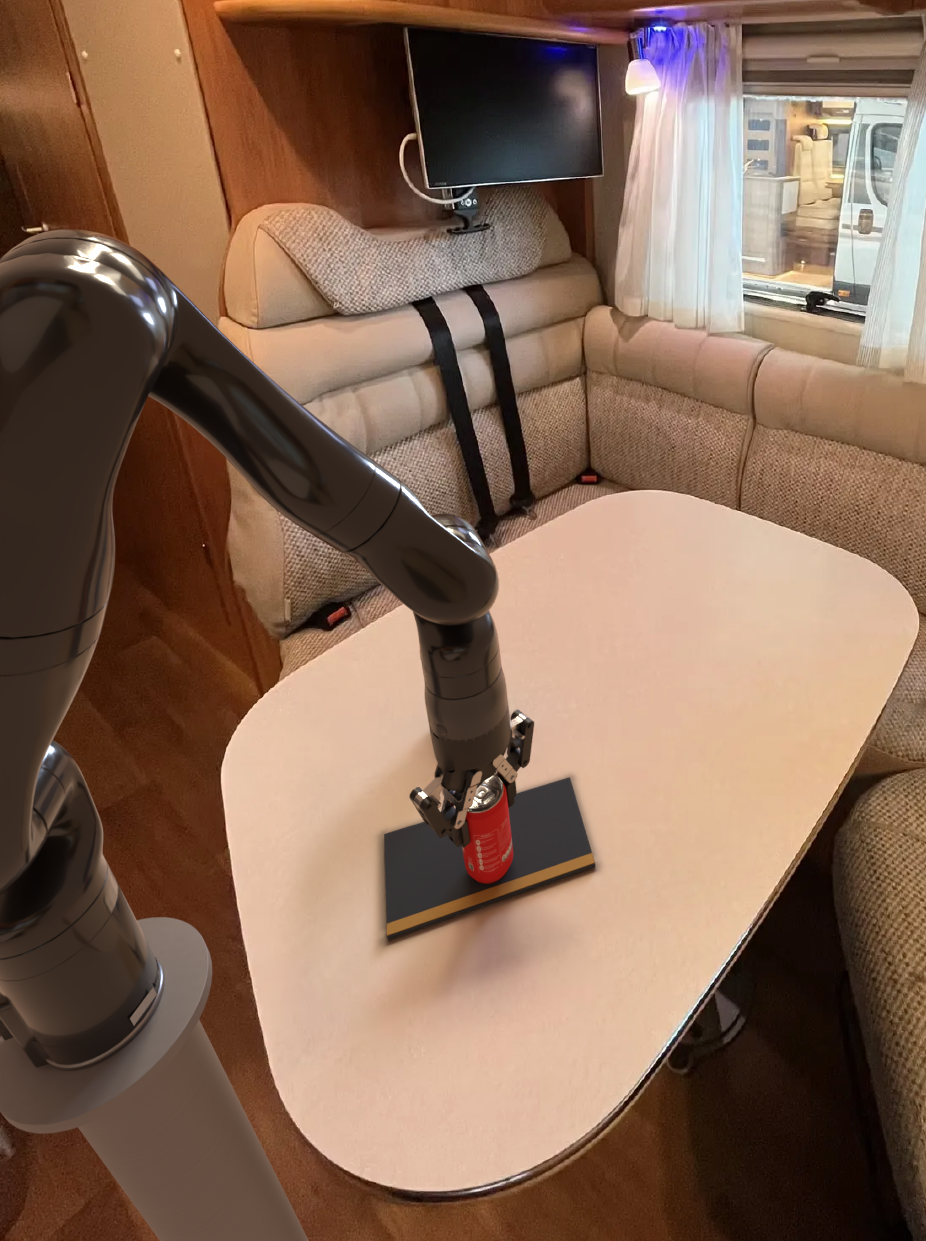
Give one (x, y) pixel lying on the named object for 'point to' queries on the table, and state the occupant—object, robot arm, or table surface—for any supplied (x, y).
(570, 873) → the front mat
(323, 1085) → the table surface
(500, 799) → the beverage can
